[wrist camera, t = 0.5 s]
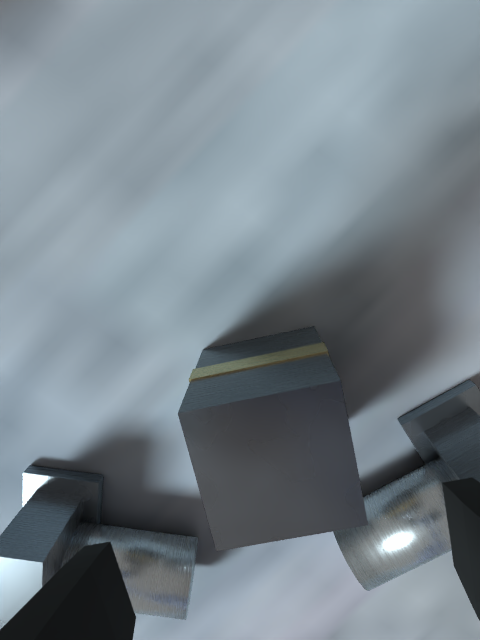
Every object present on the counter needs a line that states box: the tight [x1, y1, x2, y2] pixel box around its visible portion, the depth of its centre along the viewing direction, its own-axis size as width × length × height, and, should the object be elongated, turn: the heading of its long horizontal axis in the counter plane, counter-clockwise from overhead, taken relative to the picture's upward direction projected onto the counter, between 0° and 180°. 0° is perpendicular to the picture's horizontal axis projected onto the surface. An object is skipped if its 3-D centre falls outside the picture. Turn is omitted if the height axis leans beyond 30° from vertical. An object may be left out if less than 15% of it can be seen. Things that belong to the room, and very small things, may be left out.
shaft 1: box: [0, 465, 198, 629], centre depth 18 cm, size 8×6×4 cm
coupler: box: [178, 326, 368, 551], centre depth 16 cm, size 5×5×6 cm
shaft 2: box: [333, 380, 480, 591], centre depth 17 cm, size 8×6×4 cm
